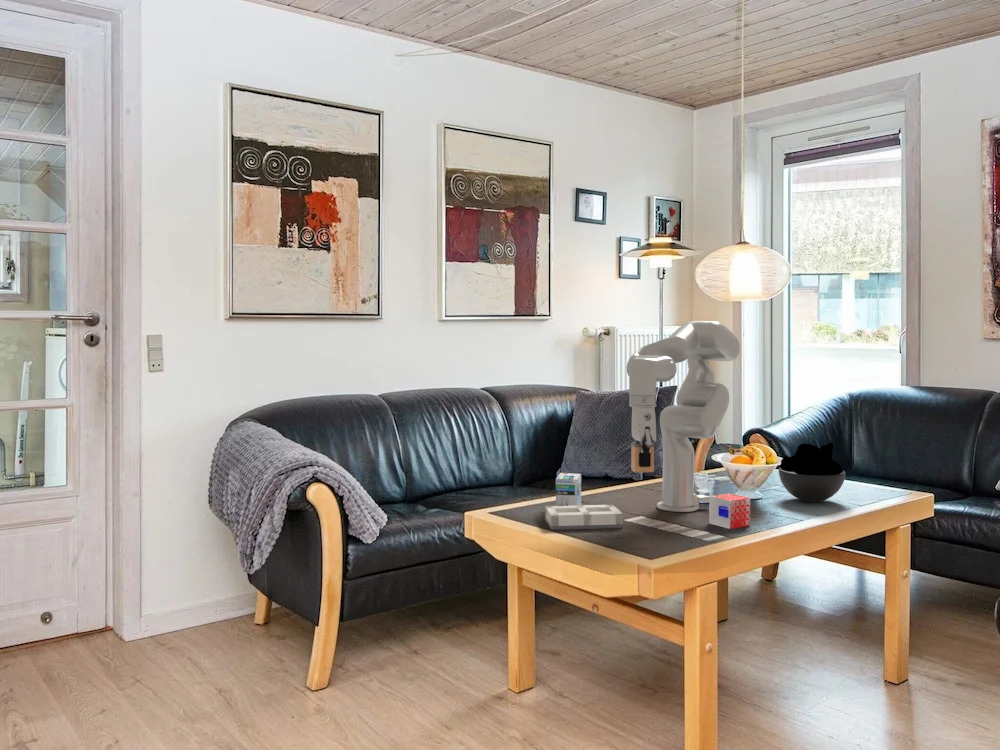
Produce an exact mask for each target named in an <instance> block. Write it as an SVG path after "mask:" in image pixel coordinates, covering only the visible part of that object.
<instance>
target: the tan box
mask: <svg viewBox="0 0 1000 750" xmlns="http://www.w3.org/2000/svg"><path fill="white" fill-rule="evenodd" d="M630 446H631V452H630V455H631V456H630V457H631V458H630V459H631V460H630V461H631V462H630V463H631V464H630V465H631V466H630V469H631V471H632V472H633V473H635V474H636V473H655V443H654V442H651V466H650V467H640V466H639V453H640V442H635V441H632V442H631V445H630ZM643 446H644V444H643Z"/></svg>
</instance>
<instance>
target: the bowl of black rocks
mask: <svg viewBox="0 0 1000 750" xmlns="http://www.w3.org/2000/svg"><path fill="white" fill-rule="evenodd" d="M796 447H797V448H796V449H797V451H795V453H794V455H792V456H788V455H785V456H784V457H783V458H782V459H781V460H780V466H779V468H778V475H779V480H780V483H781V484H782V486H783V488H784V489H785V490H786V491H787V492H788V493H789V494H790V495H791V496H793V497H794V498H796V499H798V500H801V501H803V502H808V503H818V502H823V501H826V500H828V499H831V498H833V496H835V495H836V494H837V493H838V492H839V491H840V489H841V488H842V487H843V485H844V481H845V478H846V471H845V470H843V468H842V465H841V464H839V463H838V462H837V461H835V459H833V457H832V456H833V453H834V452H833V451H834V450H833V449H834V442H827V444H825V445H821V446H820V448H819V447H818V446H816V445H813V444H810V443H805V442H804V443H800V444H799V445H798V446H796Z"/></svg>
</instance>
